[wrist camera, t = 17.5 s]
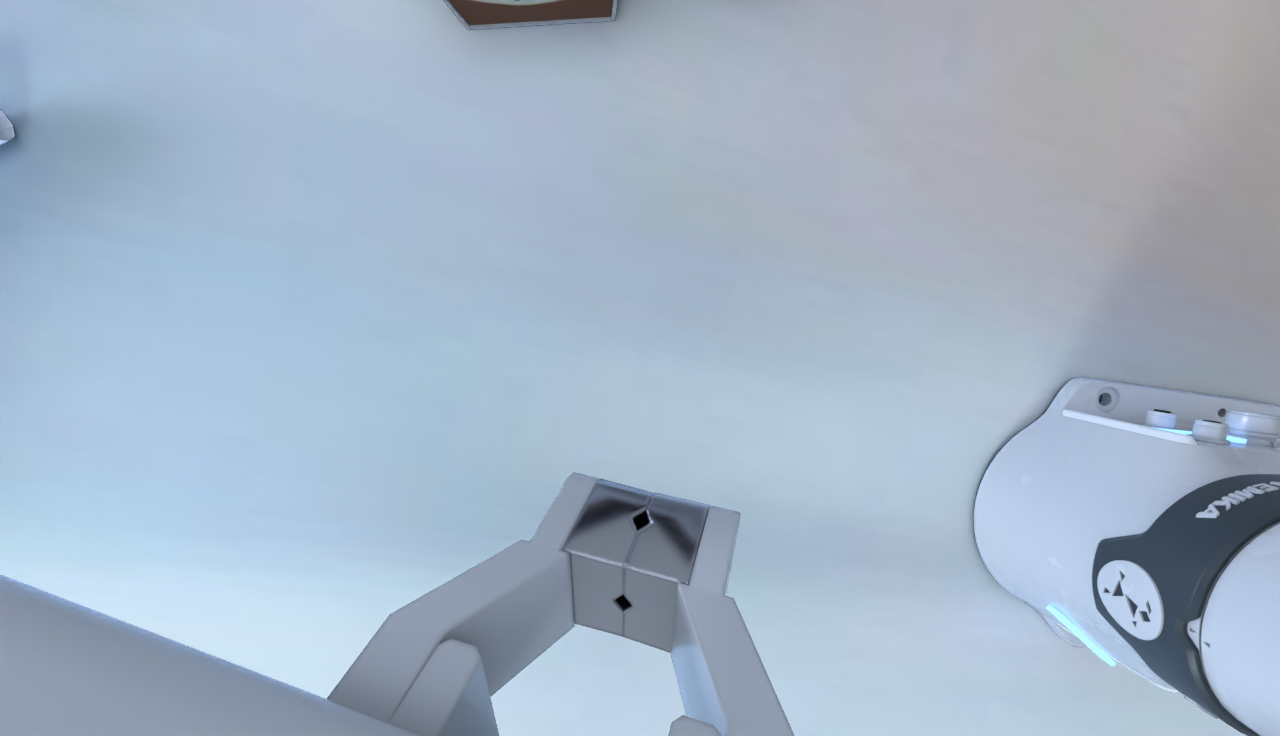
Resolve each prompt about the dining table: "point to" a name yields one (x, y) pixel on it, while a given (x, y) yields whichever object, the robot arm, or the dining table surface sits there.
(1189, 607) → the robot arm
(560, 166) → the dining table surface
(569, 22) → the food container
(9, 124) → the frying pan
